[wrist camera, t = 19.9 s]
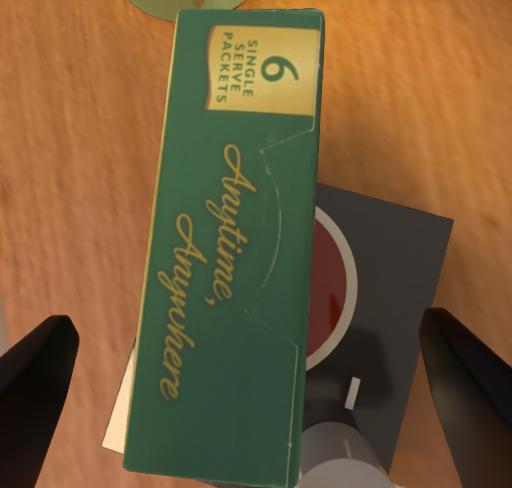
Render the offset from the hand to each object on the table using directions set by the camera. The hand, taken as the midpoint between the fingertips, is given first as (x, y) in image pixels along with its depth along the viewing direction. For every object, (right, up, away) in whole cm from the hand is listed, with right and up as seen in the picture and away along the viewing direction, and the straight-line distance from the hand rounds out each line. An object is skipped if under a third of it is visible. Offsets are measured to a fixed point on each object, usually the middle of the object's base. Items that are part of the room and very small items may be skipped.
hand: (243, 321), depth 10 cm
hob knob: (+4, -8, +8) cm, 12 cm away
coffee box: (+1, +1, +9) cm, 9 cm away
